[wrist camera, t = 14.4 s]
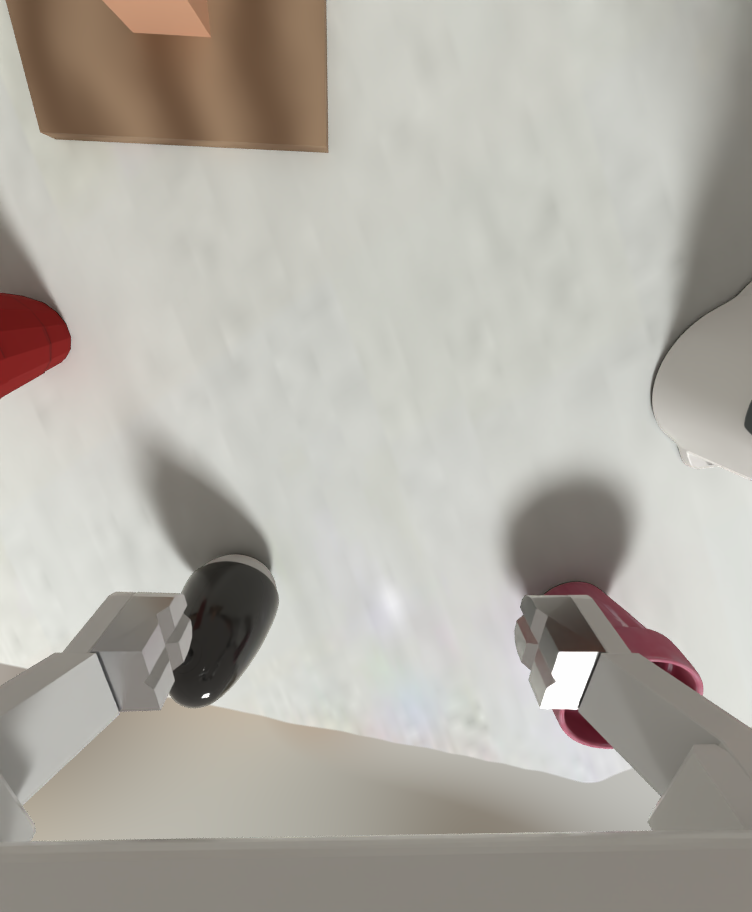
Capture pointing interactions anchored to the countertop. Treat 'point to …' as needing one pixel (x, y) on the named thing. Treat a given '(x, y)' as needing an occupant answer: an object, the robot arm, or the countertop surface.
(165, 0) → the cube
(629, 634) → the plant pot
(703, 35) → the countertop surface
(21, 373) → the plastic cup
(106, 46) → the walnut board
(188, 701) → the black glossy tall piece
